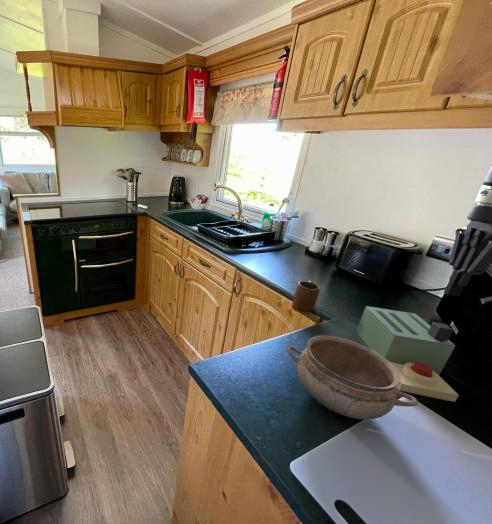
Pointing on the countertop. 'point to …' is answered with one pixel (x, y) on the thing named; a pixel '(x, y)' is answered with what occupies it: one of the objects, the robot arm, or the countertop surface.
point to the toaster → (403, 338)
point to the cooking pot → (349, 377)
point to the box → (424, 383)
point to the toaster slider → (440, 331)
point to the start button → (422, 369)
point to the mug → (306, 296)
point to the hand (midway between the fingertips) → (451, 294)
